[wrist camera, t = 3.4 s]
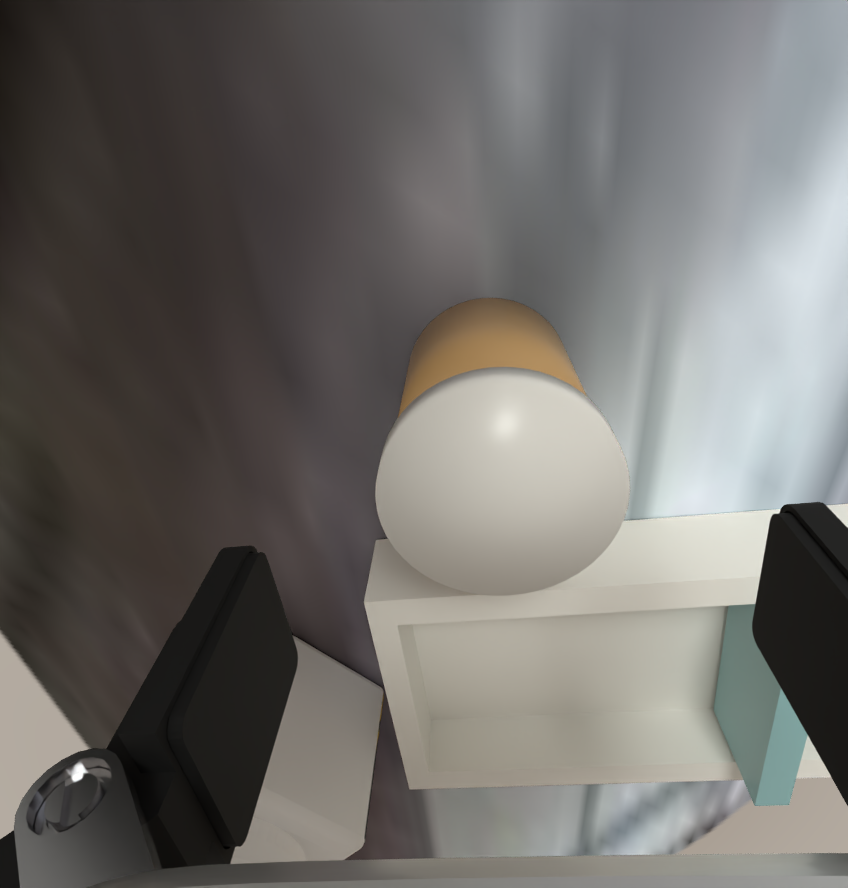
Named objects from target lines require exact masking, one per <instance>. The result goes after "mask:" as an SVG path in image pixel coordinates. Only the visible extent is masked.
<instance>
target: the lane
mask: <svg viewBox="0 0 848 888" xmlns="http://www.w3.org/2000/svg"><path fill="white" fill-rule="evenodd" d="M826 506H827V507H828V508H829V509H830V510H831V511H832V512H833V513H834V514H835V515H836V516H837V517H838V518H839V519H840V520H841V521H842V522H843V524H844V525H845V526H846V527H847V528H848V504H838V505H826ZM780 510H781V509H773V510H760V511H747V512H734V513H721V514H707V515H694V516H681V517H668V518H655V519H642V520H629V521H623V523H622V525H621V527H620V530H619V532H618V533H617V535H616V536H615V538H614V539H613V541H612V543H611V544H610V545H609V546H608V548H607V549H606V550H605V551H604V552H603V554H602V555H600V556H599V557H598V558H597V559H596V560H595V561H594V562H593V563H592V564H591V565H589V566H588V567H587V568H585V569H584V570H582V571H581V572H580V573H578V574H576V575H575V576H573V577H571V578H569V579H568V580H566V581H563V582H561V583H559V584H557V585H554V586H552V587H548V588H545V589H542V590H539V591H535V592H530V593H525V594H518V595H509V596H491V595H479V594H474V593H468V592H463V591H460V590H457V589H453V588H450V587H447V586H445V585H443V584H440V583H438V582H436V581H434V580H432V579H430V578H428V577H427V576H425V575H423V574H422V573H420V572H419V571H418V570H416V569H415V568H413V567H412V566H411V565H410V564H409V563H408V562H407V561H405V560H404V559H403V558H402V557H401V555H400V554H399V553H398V552H397V551H396V550H395V548H394V547H393V546H392V544H391V542H390V541H389V539H380V540H376V543H375V548H374V553H373V558H372V563H371V568H370V573H369V578H368V583H367V588H366V594H365V599H364V605H365V609H366V613H367V617H368V621H369V625H370V630H371V634H372V638H373V642H374V646H375V650H376V654H377V658H378V662H379V666H380V671H381V675H382V679H383V683H384V687H385V691H386V695H387V699H388V703H389V707H390V712H391V716H392V720H393V724H394V728H395V732H396V736H397V740H398V744H399V748H400V752H401V757H402V761H403V765H404V769H405V773H406V777H407V781H408V785H409V789H444V788H479V787H513V786H548V785H582V784H617V783H651V782H686V781H720V780H743V777H742V775H741V773H740V770H739V768H738V766H737V763H736V761H735V759H734V756H733V754H732V752H731V749H730V747H729V745H728V742H727V740H726V738H725V736H724V733H723V731H722V729H721V726H720V724H719V722H718V719H717V717H716V715H715V712H714V710H713V709H714V702H715V695H716V688H717V682H718V675H719V668H720V661H721V654H722V648H723V641H724V634H725V627H726V620H727V613H728V607H729V605H746V604H755V603H756V598H757V592H758V586H759V580H760V575H761V569H762V563H763V557H764V552H765V546H766V540H767V534H768V529H769V523H770V519H771V516H772V515H773V514H777V513H780ZM824 777H831V775H830V774H829V772H828V770H827V768H826V767H825V765H824V763H823V761H822V760H821V758H820V756H819V754H818V753H817V751H816V749H815V747H814V745H813V744H812V742H811V740H810V738H809V737H808V736H807V739H806V743H805V747H804V751H803V754H802V758H801V762H800V765H799V769H798V773H797V777H796V778H824Z"/></svg>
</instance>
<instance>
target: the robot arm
mask: <svg viewBox="0 0 848 888" xmlns="http://www.w3.org/2000/svg"><path fill="white" fill-rule="evenodd" d="M752 632H753V637H754V640H755V642H756V645H757V647H758V648H759V650H760V652H761V654H762V655H763V657H764V659H765V661H766V662H767V664H768V666H769V668H770V670H771V671H772V673H773V675H774V677H775V678H776V680H777V682H778V684H779V685H780V687H781V689H782V691H783V692H784V694H785V696H786V698H787V700H788V701H789V703H790V705H791V707H792V708H793V710H794V712H795V714H796V715H797V717H798V719H799V721H800V722H801V724H802V726H803V728H804V730H805V731H806V733H807V735H808V737H809V738H810V740H811V742H812V744H813V745H814V747H815V749H816V751H817V753H818V754H819V756H820V758H821V760H822V761H823V763H824V765H825V767H826V768H827V770H828V772H829V774H830V775H831V777H832V779H833V781H834V782H835V784H836V786H837V788H838V790H839V791H840V793H841V795H842V797H843V798H844V800H845V802H846V804H847V805H848V528H847V527H846V526H845V525H844V524H843V522H842V521H841V520H840V519H839V518H838V517H837V516H836V515H835V514H834V513H833V512H832V511H831V510H830V509H829V508H828V507H827V506H826V505H825V504H823V503H820V502H813V503H800V504H787V505H784V506H783V507H782V508H781V510H780V513H777V514H773V515H772V516H771V519H770V523H769V529H768V534H767V540H766V546H765V552H764V557H763V563H762V569H761V575H760V580H759V586H758V592H757V598H756V603H755V609H754V615H753V621H752ZM297 665H298V652H297V648H296V645H295V642H294V639H293V636H292V633H291V630H290V627H289V624H288V621H287V618H286V615H285V612H284V609H283V606H282V603H281V600H280V596H279V593H278V590H277V587H276V584H275V581H274V578H273V575H272V572H271V569H270V566H269V563H268V560H267V558H266V555H265V554H264V553H262V552H260V553H258V552H257V550H256V549H255V547H254V546H241V547H228V548H223V549H222V550H221V551H220V552H219V554H218V556H217V557H216V559H215V561H214V563H213V565H212V566H211V568H210V570H209V572H208V574H207V575H206V577H205V579H204V581H203V583H202V584H201V586H200V588H199V590H198V592H197V593H196V595H195V597H194V599H193V601H192V602H191V604H190V606H189V608H188V610H187V611H186V613H185V615H184V617H183V619H182V620H181V621H180V622H179V623H178V624H177V625H176V627H175V628H174V629H173V631H172V633H171V635H170V637H169V638H168V640H167V642H166V644H165V645H164V647H163V649H162V651H161V653H160V654H159V656H158V658H157V660H156V661H155V663H154V665H153V667H152V669H151V670H150V672H149V674H148V676H147V678H146V679H145V681H144V683H143V685H142V686H141V688H140V690H139V692H138V694H137V695H136V697H135V699H134V701H133V702H132V704H131V706H130V708H129V710H128V711H127V713H126V715H125V717H124V718H123V720H122V722H121V724H120V726H119V727H118V729H117V731H116V733H115V735H114V736H113V738H112V740H111V742H110V743H109V745H108V747H107V749H97V748H93V749H88V750H85V751H80V752H77V753H75V754H73V755H71V756H69V757H67V758H65V759H63V760H61V761H60V762H58V763H57V764H55V765H54V766H53V767H51V768H50V769H48V770H47V771H46V772H45V773H44V774H43V775H42V776H41V777H40V778H39V779H38V780H37V781H36V782H35V783H34V784H33V785H32V786H31V788H30V789H29V790H28V792H27V793H26V795H25V796H24V797H23V799H22V801H21V803H20V805H19V808H18V810H17V812H16V815H15V824H14V831H12V832H11V833H9V834H8V835H6V836H5V837H3V838H2V839H0V888H848V853H799V854H797V853H792V854H702V855H701V854H696V855H695V854H694V855H693V854H692V855H610V856H542V857H481V858H427V859H380V860H332V861H292V862H267V863H242V864H230V863H231V859H232V856H233V853H234V850H235V847H241V846H242V845H243V844H244V842H245V840H246V838H247V835H248V832H249V828H250V825H251V822H252V818H253V815H254V812H255V808H256V805H257V801H258V798H259V795H260V791H261V788H262V785H263V781H264V778H265V774H266V771H267V768H268V764H269V761H270V758H271V754H272V751H273V747H274V744H275V741H276V737H277V734H278V731H279V727H280V724H281V720H282V717H283V714H284V710H285V707H286V704H287V700H288V697H289V693H290V690H291V687H292V683H293V680H294V677H295V673H296V670H297Z"/></svg>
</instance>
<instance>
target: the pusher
mask: <svg viewBox="0 0 848 888" xmlns="http://www.w3.org/2000/svg"><path fill="white" fill-rule="evenodd" d="M754 609H755V604H746V605H729V607H728V613H727V620H726V627H725V634H724V641H723V648H722V654H721V661H720V668H719V675H718V682H717V688H716V695H715V702H714V709H713V710H714V712H715V715H716V717H717V719H718V722H719V724H720V726H721V729H722V731H723V733H724V736H725V738H726V740H727V742H728V745H729V747H730V749H731V752H732V754H733V756H734V759H735V761H736V763H737V766H738V768H739V770H740V773H741V775H742V777H743V780H744V782H745V784H746V787H747V789H748V791H749V794H750V796H751V798H752V801H753V803H754V805H755V806H768V805H789V803H790V799H791V795H792V791H793V788H794V784H795V780H796V777H797V773H798V769H799V765H800V762H801V758H802V754H803V751H804V747H805V743H806V739H807V736H808V735H807V733H806V731H805V730H804V728H803V726H802V724H801V722H800V721H799V719H798V717H797V715H796V714H795V712H794V710H793V708H792V707H791V705H790V703H789V701H788V700H787V698H786V696H785V694H784V692H783V691H782V689H781V687H780V685H779V684H778V682H777V680H776V678H775V677H774V675H773V673H772V671H771V670H770V668H769V666H768V664H767V662H766V661H765V659H764V657H763V655H762V654H761V652H760V650H759V648H758V647H757V645H756V642H755V640H754V637H753V632H752V621H753V615H754Z"/></svg>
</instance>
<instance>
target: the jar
mask: <svg viewBox="0 0 848 888" xmlns="http://www.w3.org/2000/svg"><path fill="white" fill-rule="evenodd" d="M629 496H630V476H629V471H628V467H627V462H626V459H625V457H624V454H623V452H622V449H621V447H620V445H619V443H618V441H617V439H616V437H615V435H614V433H613V431H612V429H611V427H610V425H609V423H608V422H607V420H606V418H605V416H604V415H603V414H602V412H601V411H600V410H599V409H598V407H597V406H596V405H595V404H594V403H593V402H592V401H591V400H590V399H589V398H588V397H587V396H586V394H585V391H584V389H583V387H582V385H581V383H580V381H579V378H578V376H577V374H576V372H575V370H574V368H573V365H572V363H571V361H570V359H569V357H568V354H567V352H566V350H565V348H564V346H563V344H562V341H561V339H560V338H559V336H558V334H557V332H556V331H555V329H554V328H553V327H552V326H551V324H550V323H549V322H548V321H547V320H546V319H545V318H544V317H543V316H541V315H540V314H539V313H537V312H536V311H534V310H533V309H531V308H529V307H527V306H525V305H523V304H520V303H518V302H515V301H511V300H506V299H500V298H480V299H474V300H469V301H466V302H463V303H460V304H457V305H455V306H453V307H451V308H449V309H447V310H446V311H444V312H443V313H441V314H439V315H438V316H437V317H436V318H435V319H433V320H432V321H431V322H430V323H429V324H428V326H427V327H426V328H425V329H424V330H423V332H422V333H421V335H420V336H419V337H418V339H417V341H416V343H415V345H414V348H413V351H412V353H411V357H410V362H409V366H408V371H407V376H406V381H405V386H404V391H403V396H402V401H401V405H400V410H399V415H398V419H397V420H396V421H395V423H394V425H393V427H392V428H391V430H390V432H389V434H388V436H387V439H386V442H385V445H384V448H383V452H382V456H381V460H380V465H379V469H378V474H377V480H376V492H375V499H376V507H377V513H378V516H379V519H380V523H381V525H382V528H383V530H384V532H385V534H386V536H387V538H388V539H389V541H390V542H391V544H392V546H393V547H394V548H395V550H396V551H397V552H398V553H399V554H400V555H401V557H402V558H403V559H404V560H405V561H407V562H408V563H409V564H410V565H411V566H412V567H413V568H415V569H416V570H418V571H419V572H420V573H422V574H423V575H425V576H427V577H428V578H430V579H432V580H434V581H436V582H438V583H440V584H443V585H445V586H447V587H450V588H453V589H457V590H460V591H463V592H468V593H474V594H479V595H491V596H509V595H518V594H525V593H530V592H535V591H539V590H542V589H545V588H548V587H552V586H554V585H557V584H559V583H561V582H563V581H566V580H568V579H569V578H571V577H573V576H575V575H576V574H578V573H580V572H581V571H582V570H584V569H585V568H587V567H588V566H589V565H591V564H592V563H593V562H594V561H595V560H596V559H597V558H598V557H599V556H600V555H602V554H603V552H604V551H605V550H606V549H607V548H608V546H609V545H610V544H611V543H612V541H613V539H614V538H615V536H616V535H617V533H618V532H619V530H620V527H621V525H622V523H623V521H624V518H625V515H626V512H627V508H628V504H629Z"/></svg>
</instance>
